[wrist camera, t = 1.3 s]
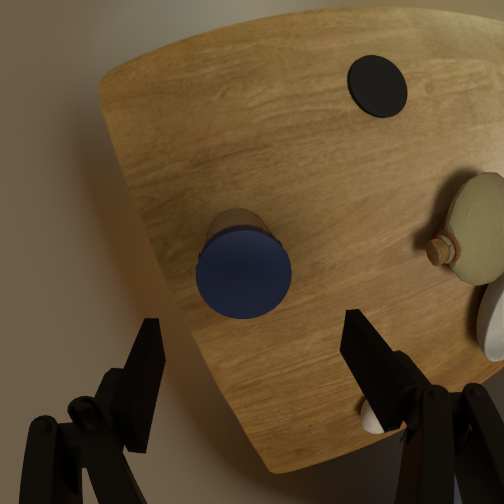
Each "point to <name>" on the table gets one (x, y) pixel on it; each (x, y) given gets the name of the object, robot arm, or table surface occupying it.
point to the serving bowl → (492, 321)
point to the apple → (370, 419)
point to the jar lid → (243, 272)
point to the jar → (234, 221)
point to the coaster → (377, 86)
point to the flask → (473, 231)
